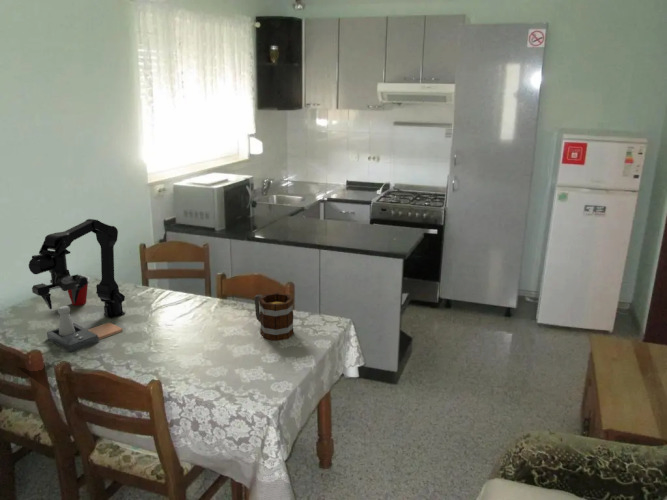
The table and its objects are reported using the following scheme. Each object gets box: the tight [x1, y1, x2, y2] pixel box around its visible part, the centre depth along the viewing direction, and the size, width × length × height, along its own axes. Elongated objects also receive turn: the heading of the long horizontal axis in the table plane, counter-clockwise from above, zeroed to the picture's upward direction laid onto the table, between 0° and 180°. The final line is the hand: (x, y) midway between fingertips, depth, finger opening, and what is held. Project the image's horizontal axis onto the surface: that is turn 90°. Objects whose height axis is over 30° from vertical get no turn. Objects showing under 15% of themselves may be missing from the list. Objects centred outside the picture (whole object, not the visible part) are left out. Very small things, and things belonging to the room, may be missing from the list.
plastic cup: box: [67, 275, 91, 307], centre depth 246 cm, size 11×11×12 cm
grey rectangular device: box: [46, 322, 99, 353], centre depth 211 cm, size 11×18×3 cm, turn 52°
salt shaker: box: [57, 305, 75, 337], centre depth 212 cm, size 6×6×13 cm
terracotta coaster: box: [87, 322, 124, 340], centre depth 219 cm, size 10×10×1 cm
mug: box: [254, 292, 295, 342], centre depth 219 cm, size 20×14×15 cm
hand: (62, 306), depth 210 cm, fingers open, 9 cm apart
